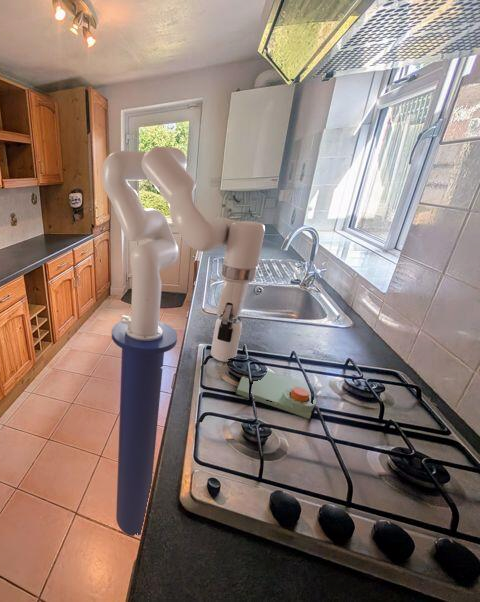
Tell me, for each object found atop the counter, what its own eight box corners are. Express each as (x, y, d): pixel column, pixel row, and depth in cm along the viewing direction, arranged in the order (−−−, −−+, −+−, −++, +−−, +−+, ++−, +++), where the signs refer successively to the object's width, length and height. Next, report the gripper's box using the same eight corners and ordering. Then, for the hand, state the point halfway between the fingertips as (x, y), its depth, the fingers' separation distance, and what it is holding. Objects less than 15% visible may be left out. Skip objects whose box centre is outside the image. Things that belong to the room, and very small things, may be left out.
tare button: (290, 399, 64) (291, 392, 64) (291, 391, 67) (292, 385, 66) (307, 404, 63) (309, 397, 62) (307, 396, 65) (309, 390, 64)
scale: (235, 395, 70) (237, 384, 69) (245, 369, 79) (247, 359, 78) (312, 421, 62) (316, 409, 61) (313, 389, 71) (316, 378, 70)
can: (239, 356, 85) (247, 318, 80) (229, 365, 81) (237, 326, 76) (216, 348, 89) (222, 311, 85) (206, 356, 85) (212, 318, 80)
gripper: (230, 262, 84) (219, 320, 91) (214, 278, 71) (203, 344, 78) (260, 266, 80) (247, 326, 87) (249, 284, 67) (235, 353, 74)
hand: (226, 334), depth 82 cm, fingers closed on can, 6 cm apart
